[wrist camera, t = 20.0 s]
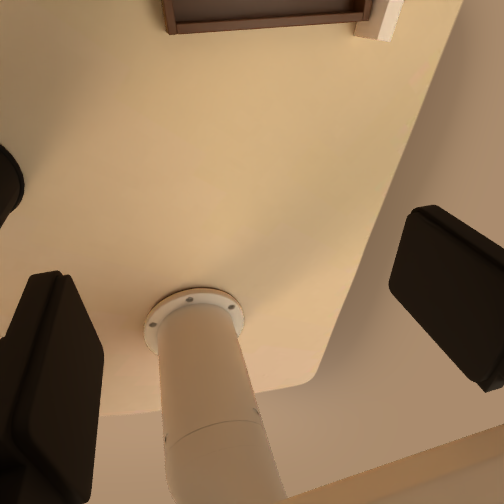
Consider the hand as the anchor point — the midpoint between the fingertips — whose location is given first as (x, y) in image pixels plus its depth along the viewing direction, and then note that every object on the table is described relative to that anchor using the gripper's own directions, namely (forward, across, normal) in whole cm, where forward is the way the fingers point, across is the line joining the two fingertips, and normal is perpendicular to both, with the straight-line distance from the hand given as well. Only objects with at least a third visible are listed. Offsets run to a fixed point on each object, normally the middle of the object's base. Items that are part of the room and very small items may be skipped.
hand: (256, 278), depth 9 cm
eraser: (+23, -16, -6) cm, 29 cm away
